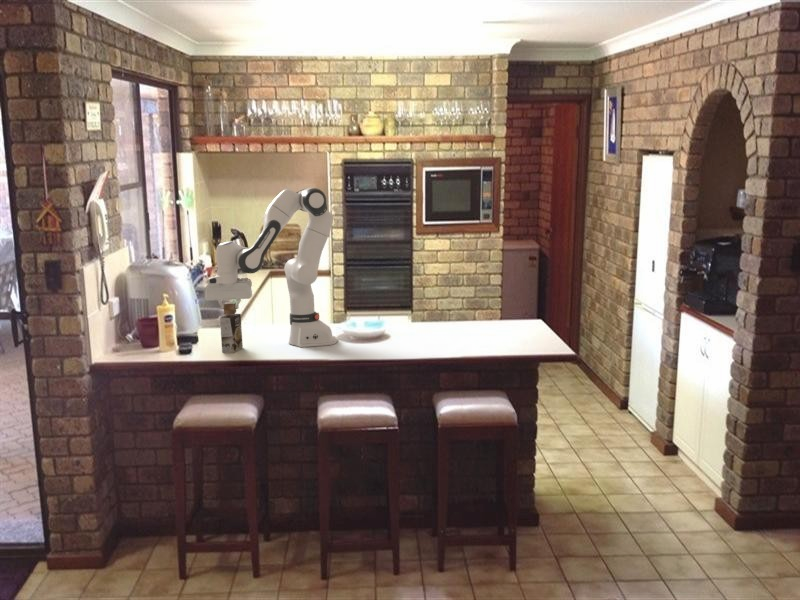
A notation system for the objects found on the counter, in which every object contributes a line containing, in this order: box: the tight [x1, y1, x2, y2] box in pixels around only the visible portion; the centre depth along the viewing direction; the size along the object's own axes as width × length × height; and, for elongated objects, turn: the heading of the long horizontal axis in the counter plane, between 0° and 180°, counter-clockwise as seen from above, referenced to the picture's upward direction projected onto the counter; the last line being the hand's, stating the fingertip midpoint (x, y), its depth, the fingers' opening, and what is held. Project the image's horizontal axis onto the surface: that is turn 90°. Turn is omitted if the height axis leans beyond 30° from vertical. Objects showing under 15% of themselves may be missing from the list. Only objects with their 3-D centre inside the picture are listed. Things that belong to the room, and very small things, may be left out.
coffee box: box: [219, 313, 244, 354], centre depth 332 cm, size 9×6×16 cm
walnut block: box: [222, 301, 237, 315], centre depth 330 cm, size 4×4×4 cm
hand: (230, 308), depth 330 cm, fingers open, 5 cm apart
